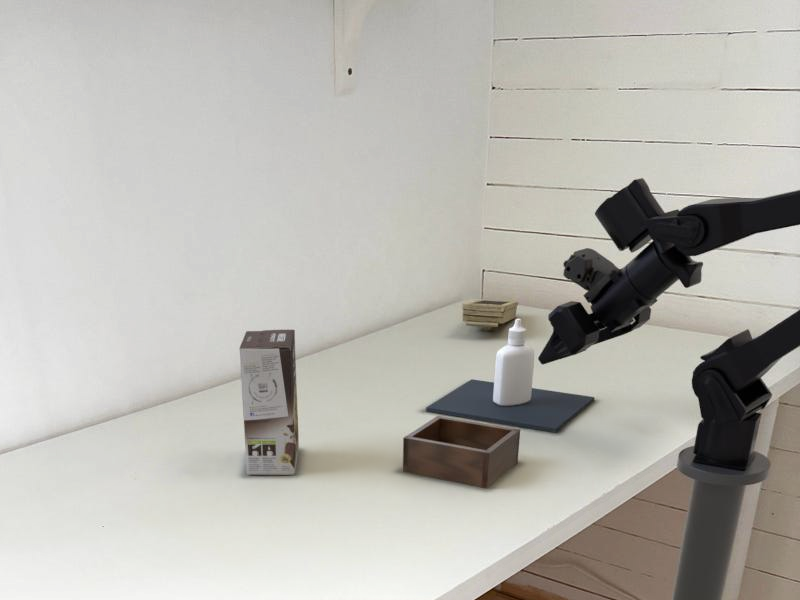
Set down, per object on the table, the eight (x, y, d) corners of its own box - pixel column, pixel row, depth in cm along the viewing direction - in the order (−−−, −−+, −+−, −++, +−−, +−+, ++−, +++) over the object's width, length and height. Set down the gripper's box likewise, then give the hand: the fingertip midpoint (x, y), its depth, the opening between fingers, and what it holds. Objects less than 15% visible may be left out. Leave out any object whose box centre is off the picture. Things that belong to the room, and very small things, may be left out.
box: (459, 332, 178) (462, 303, 177) (475, 324, 199) (478, 297, 197) (505, 335, 176) (508, 305, 175) (517, 326, 197) (520, 300, 195)
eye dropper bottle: (491, 397, 148) (497, 315, 142) (529, 397, 148) (536, 315, 141) (493, 406, 144) (499, 323, 138) (532, 407, 144) (539, 323, 138)
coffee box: (296, 475, 125) (291, 346, 117) (245, 475, 125) (237, 347, 117) (300, 450, 133) (296, 327, 124) (252, 450, 133) (245, 328, 125)
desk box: (517, 463, 127) (520, 429, 124) (487, 488, 120) (489, 453, 117) (436, 448, 132) (437, 415, 130) (402, 471, 125) (403, 437, 123)
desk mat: (594, 400, 148) (594, 396, 147) (555, 432, 136) (556, 428, 136) (471, 382, 157) (471, 379, 157) (425, 411, 145) (425, 407, 145)
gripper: (641, 219, 132) (561, 295, 144) (569, 239, 120) (488, 319, 132) (688, 287, 131) (603, 357, 143) (620, 314, 120) (534, 388, 132)
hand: (558, 354), depth 138 cm, fingers open, 9 cm apart
